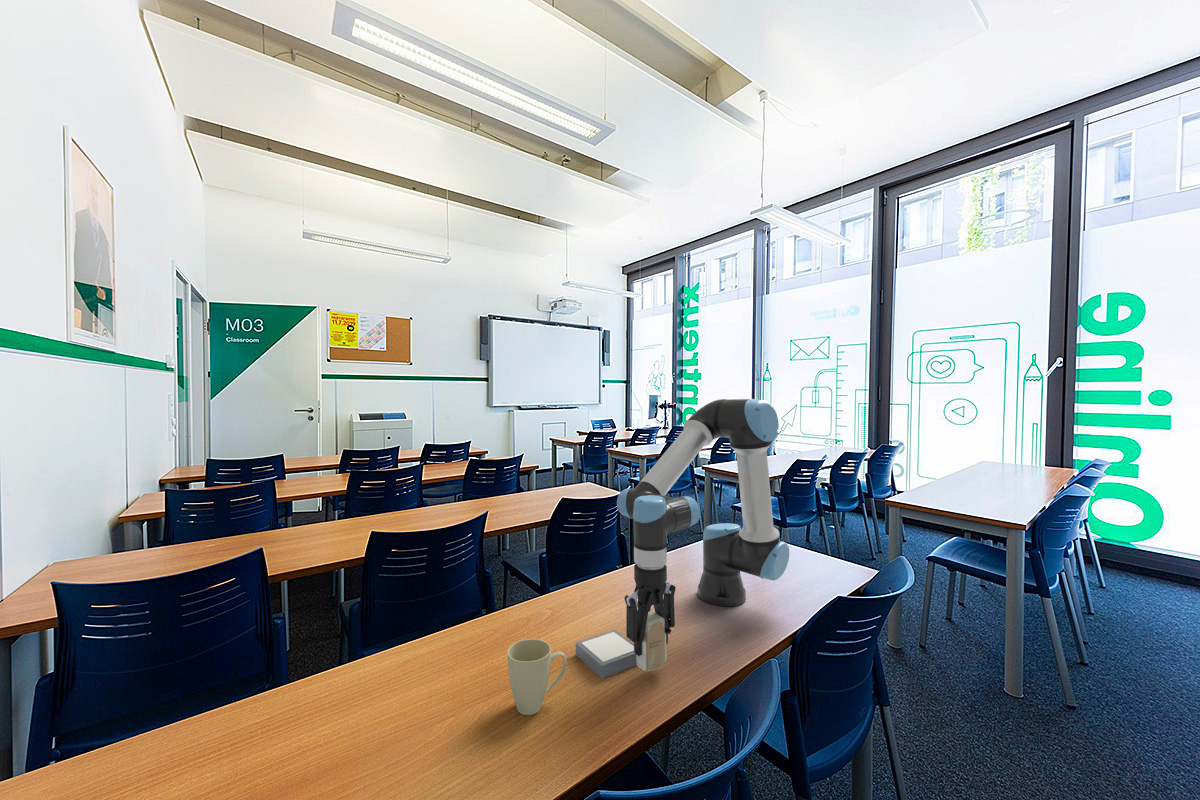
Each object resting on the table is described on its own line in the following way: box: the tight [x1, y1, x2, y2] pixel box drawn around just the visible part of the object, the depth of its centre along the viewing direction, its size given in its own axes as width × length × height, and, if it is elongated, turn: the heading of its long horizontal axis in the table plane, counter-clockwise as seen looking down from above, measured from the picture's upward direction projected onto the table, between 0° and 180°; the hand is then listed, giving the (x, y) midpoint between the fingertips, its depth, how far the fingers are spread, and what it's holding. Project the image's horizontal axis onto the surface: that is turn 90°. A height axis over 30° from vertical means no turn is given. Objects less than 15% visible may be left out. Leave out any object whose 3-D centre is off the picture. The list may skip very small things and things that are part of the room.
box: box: [643, 611, 666, 672], centre depth 109 cm, size 5×4×11 cm
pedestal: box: [575, 629, 637, 680], centre depth 115 cm, size 12×12×3 cm
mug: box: [506, 638, 568, 716], centre depth 98 cm, size 11×10×12 cm
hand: (651, 662), depth 109 cm, fingers closed on box, 5 cm apart
